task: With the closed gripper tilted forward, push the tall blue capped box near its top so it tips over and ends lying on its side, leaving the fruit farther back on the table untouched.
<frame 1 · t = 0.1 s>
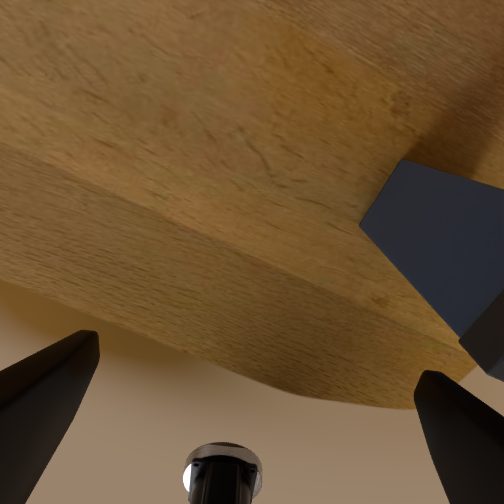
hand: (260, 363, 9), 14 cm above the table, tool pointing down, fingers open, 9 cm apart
blue capped box: (410, 209, 22), on the table
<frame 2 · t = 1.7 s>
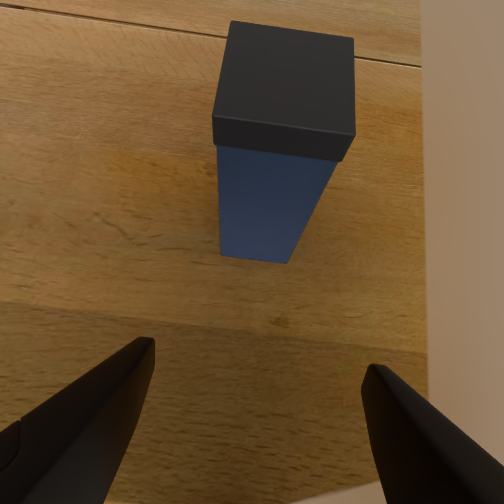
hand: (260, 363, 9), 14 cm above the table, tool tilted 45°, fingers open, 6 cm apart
blue capped box: (257, 230, 26), on the table
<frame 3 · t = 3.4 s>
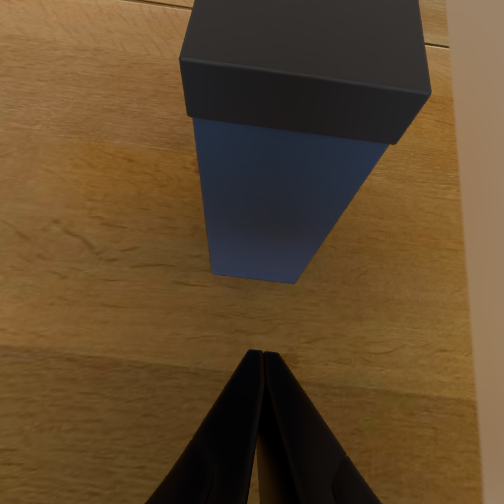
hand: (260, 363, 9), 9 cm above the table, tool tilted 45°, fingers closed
blue capped box: (257, 241, 20), on the table
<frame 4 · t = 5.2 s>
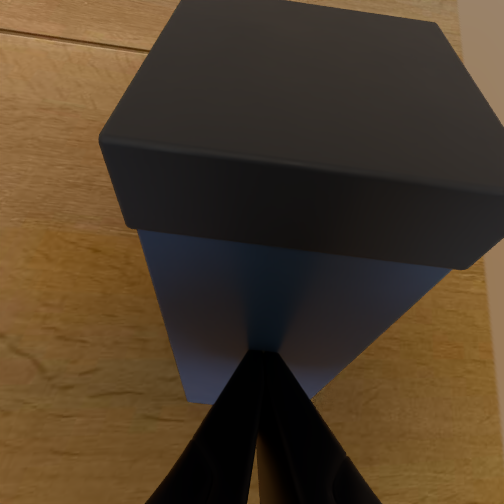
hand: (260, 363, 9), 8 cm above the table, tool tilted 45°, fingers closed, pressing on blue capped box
blue capped box: (246, 354, 16), point 1 cm above the table, tilted 14°, touching gripper
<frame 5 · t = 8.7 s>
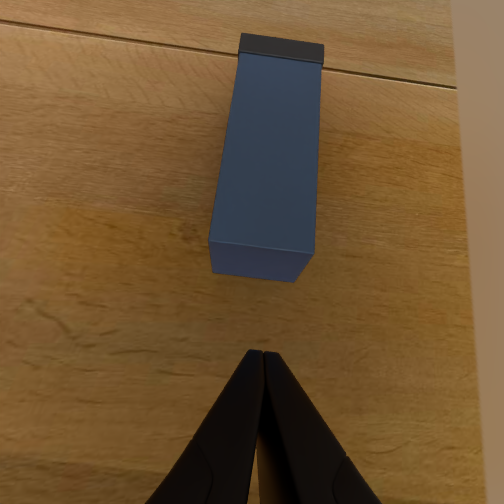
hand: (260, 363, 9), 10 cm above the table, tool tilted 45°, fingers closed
blue capped box: (256, 264, 17), point 2 cm above the table, tilted 90°
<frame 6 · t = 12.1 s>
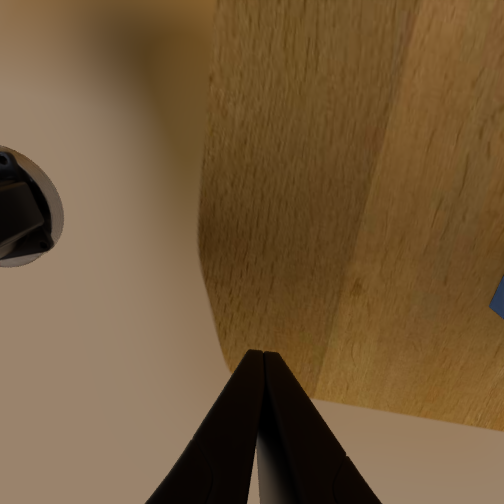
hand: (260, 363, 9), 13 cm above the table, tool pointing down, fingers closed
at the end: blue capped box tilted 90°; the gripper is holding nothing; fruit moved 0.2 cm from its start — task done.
